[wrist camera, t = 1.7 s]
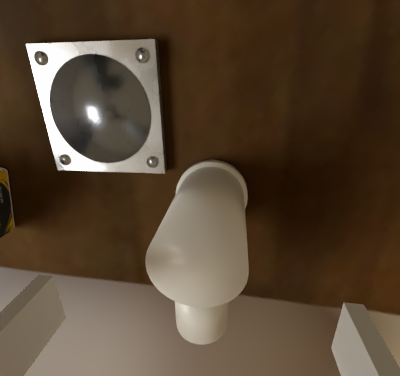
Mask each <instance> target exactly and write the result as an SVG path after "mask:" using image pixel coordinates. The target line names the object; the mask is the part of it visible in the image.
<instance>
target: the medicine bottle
mask: <svg viewBox="0 0 400 376" xmlns="http://www.w3.org/2000/svg"><path fill="white" fill-rule="evenodd" d="M14 228H15V223H14V215H13V208H12V200H11V192H10V185H9V177H8V171H7V169H5V168H1V167H0V238H1V237H2V236H4V235H5V234H7V233H8V232H10V231H11V230H13V229H14Z"/></svg>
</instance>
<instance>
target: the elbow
mask: <svg viewBox="0 0 400 376" xmlns="http://www.w3.org/2000/svg"><path fill="white" fill-rule="evenodd" d="M247 200H248V193H247V186H246V182H245V180H244V178H243V176H242V175H241V173H240V172H239V171H238V170H237V169H236V168H235V167H233V166H232V165H230V164H228V163H226V162H224V161H220V160H213V159H210V160H203V161H199V162H197V163H195V164H193V165H191V166H190V167H189V168H188V169H187V170H186V171H185V172H184V173H183V175H182V177H181V178H180V180H179V182H178V185H177V189H176V196H175V197H174V199H173V201H172V203H171V205H170V207H169V209H168V211H167V213H166V215H165V217H164V219H163V221H162V222H161V224H160V226H159V228H158V230H157V232H156V234H155V236H154V238H153V240H152V242H151V244H150V246H149V248H148V250H147V253H146V259H145V262H146V270H147V273H148V276H149V278H150V279H151V281H152V283H153V284H154V285H155V287H156V288H157V289H158V290H159V291H160V292H161V293H163V294H164V295H165V296H167V297H168V298H170V299H172V300H174V301H175V310H176V324H177V329H178V331H179V333H180V334H181V335H182V337H183V338H185V339H186V340H187V341H189V342H192V343H194V344H201V345H202V344H209V343H212V342H214V341H216V340H218V339H219V338H220V337H221V336H222V335H223V334H224V332H225V330H226V327H227V319H228V302H229V301H231V300H232V299H234V298H235V297H236V296H238V295H239V294H240V293H241V291H242V290H243V289H244V287H245V285H246V283H247V280H248V274H249V267H248V251H247V235H246V219H245V208H246V205H247Z"/></svg>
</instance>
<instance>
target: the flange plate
mask: <svg viewBox="0 0 400 376" xmlns="http://www.w3.org/2000/svg"><path fill="white" fill-rule="evenodd" d="M26 47H27V51H28V55H29V59H30V63H31V67H32V71H33V75H34V79H35V83H36V87H37V91H38V95H39V99H40V103H41V107H42V110H43V114H44V118H45V122H46V126H47V130H48V134H49V138H50V142H51V146H52V150H53V154H54V158H55V162H56V166H57V170H74V171H104V172H135V173H166V171H167V160H166V146H165V132H164V118H163V104H162V90H161V76H160V62H159V47H158V40H156V39H142V40H115V41H88V42H61V43H35V44H26Z"/></svg>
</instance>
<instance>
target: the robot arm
mask: <svg viewBox="0 0 400 376" xmlns="http://www.w3.org/2000/svg"><path fill="white" fill-rule="evenodd" d="M65 318H66V317H65V313H64V310H63V307H62V304H61V300H60V297H59V293H58V290H57V287H56V283H55V280H54V277H53V276H45V275H38V276H37V277H36V278H35V279H34V280H33V281H32V282H31V283H30V284H29V285H28V286H27V287H26V288H25V289H24V290H23V291H22V292H21V293H20V294H19V295H18V296H17V297H16V298H15V299H13V300H12V301H11V303H9V304H8V305H7V306H6V307H5V308H4V309H3V310H2V311H1V312H0V376H24V374H25V373H26V372H27V370H28V369H29V368H30V366H31V365H32V363H33V362H34V361H35V359H36V358H37V357H38V355H39V354H40V352H41V351H42V350H43V348H44V347H45V346H46V344H47V343H48V342H49V340H50V339H51V337H52V336H53V335H54V333H55V332H56V331H57V329H58V328H59V326H60V325H61V324H62V322H63V321H64V319H65ZM332 351H333V354H334V357H335V360H336V363H337V365H338V368H339V371H340V374H341V376H400V368H399V366H398V364H397V362H396V361H395V359H394V357H393V356H392V354H391V352H390V350H389V348H388V347H387V345H386V343H385V341H384V340H383V338H382V336H381V334H380V333H379V331H378V329H377V327H376V326H375V324H374V322H373V320H372V319H371V317H370V315H369V313H368V311H367V310H366V308H365V306H364V305H363V304H352V303H344V304H343V307H342V311H341V315H340V318H339V322H338V326H337V329H336V333H335V337H334V340H333V344H332Z"/></svg>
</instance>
